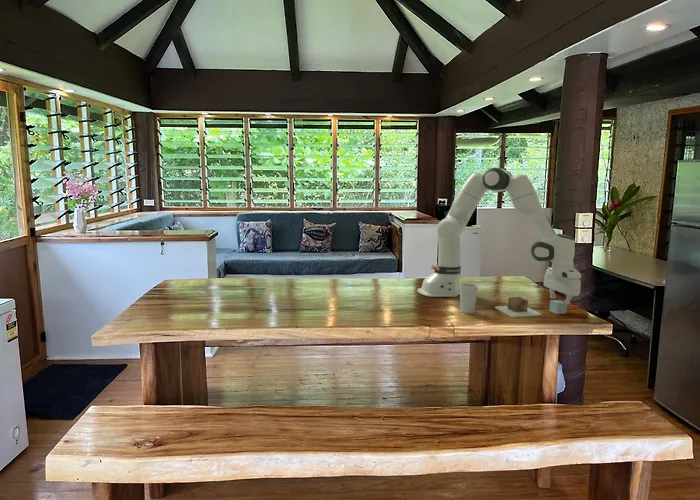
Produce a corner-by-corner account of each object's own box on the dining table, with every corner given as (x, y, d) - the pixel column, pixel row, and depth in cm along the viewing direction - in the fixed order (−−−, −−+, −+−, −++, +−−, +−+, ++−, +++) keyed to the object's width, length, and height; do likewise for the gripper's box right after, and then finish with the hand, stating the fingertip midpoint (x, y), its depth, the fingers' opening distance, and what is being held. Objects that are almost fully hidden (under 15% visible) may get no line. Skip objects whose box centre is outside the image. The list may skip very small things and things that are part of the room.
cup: (473, 315, 209) (474, 288, 207) (455, 311, 213) (457, 285, 211) (478, 310, 215) (480, 284, 213) (461, 307, 220) (463, 282, 218)
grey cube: (556, 314, 212) (557, 303, 211) (549, 311, 217) (550, 300, 216) (566, 313, 214) (567, 302, 213) (558, 310, 218) (559, 299, 217)
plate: (512, 317, 206) (512, 315, 206) (495, 308, 220) (495, 306, 220) (540, 315, 210) (540, 313, 210) (521, 306, 223) (522, 304, 223)
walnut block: (515, 312, 211) (516, 301, 210) (507, 308, 217) (508, 297, 216) (527, 311, 213) (528, 300, 212) (519, 307, 218) (520, 296, 217)
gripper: (541, 266, 221) (539, 295, 224) (571, 276, 202) (569, 307, 204) (553, 266, 223) (550, 295, 225) (584, 275, 203) (581, 306, 206)
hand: (559, 301), depth 214 cm, fingers open, 8 cm apart
